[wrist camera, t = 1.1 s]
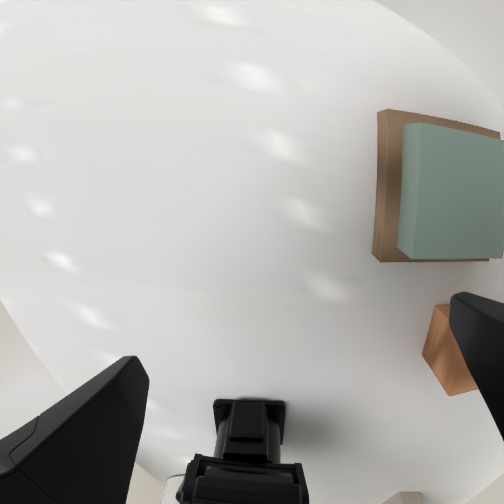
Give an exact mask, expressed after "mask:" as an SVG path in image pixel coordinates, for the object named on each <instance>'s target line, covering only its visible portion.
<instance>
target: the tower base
mask: <svg viewBox="0 0 504 504" xmlns="http://www.w3.org/2000/svg"><path fill="white" fill-rule="evenodd" d="M418 122H421V123H427V124H433V125H438V126H443V127H448V128H453V129H458V130H463V131H467V132H471V133H476V134H480V135H484V136H488V137H492V138H495V139H499V140H500V132H496V131H493V130H489V129H485V128H482V127H478V126H474V125H470V124H466V123H461V122H457V121H453V120H448V119H443V118H438V117H433V116H428V115H422V114H417V113H411V112H404V111H398V110H391V109H386V110H383V111H380V112H377V123H378V157H377V190H376V208H375V223H374V235H373V246H372V254H373V255H374V256H375V257H376V258H377V259H378V260H379V261H380V262H450V261H489V258H475V259H411V258H410V257H408V256H407V255H406V254H405V253H403V252H402V251H401V250H400V249H398V248H397V247H396V245H397V236H398V226H399V214H400V201H401V183H402V150H403V128H402V125H406V124H412V123H418Z"/></svg>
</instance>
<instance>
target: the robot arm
mask: <svg viewBox="0 0 504 504" xmlns="http://www.w3.org/2000/svg"><path fill="white" fill-rule="evenodd" d="M449 326H450V329H451V331H452V333H453V336H454V338H455V340H456V342H457V345H458V347H459V349H460V351H461V354H462V356H463V358H464V361H465V363H466V365H467V368H468V370H469V372H470V374H471V376H472V377H473V379H474V381H475V383H476V385H477V387H478V389H479V391H480V392H481V394H482V396H483V398H484V400H485V402H486V404H487V406H488V408H489V410H490V412H491V414H492V417H493V419H494V421H495V423H496V425H497V427H498V429H499V432H500V434H501V436H502V438H503V441H504V303H500V302H497V301H494V300H491V299H487V298H484V297H481V296H478V295H474V294H471V293H468V292H460V293H457V294H454V295H453V296H452V297H451V301H450V312H449ZM148 390H149V377H148V375H147V373H146V371H145V369H144V367H143V366H142V364H141V362H140V360H139V358H138V357H136V356H124V357H122V358H121V359H119V360H118V361H116V362H115V363H113V364H112V365H111V366H109V367H108V368H106V369H105V370H103V371H102V372H101V373H99V374H98V375H96V376H95V377H93V378H92V379H91V380H89V381H88V382H86V383H85V384H83V385H82V386H80V387H79V388H78V389H76V390H75V391H73V392H72V393H70V394H69V395H68V396H66V397H65V398H63V399H62V400H60V401H59V402H57V403H56V404H55V405H53V406H52V407H50V408H49V409H47V410H46V411H44V412H43V413H41V414H40V416H37V417H36V418H34V419H33V420H31V421H30V422H28V423H27V424H25V425H24V426H22V427H20V428H19V429H17V430H16V431H14V432H12V433H11V434H9V435H8V436H6V437H4V438H2V439H1V440H0V504H126V499H127V494H128V490H129V485H130V480H131V476H132V471H133V467H134V462H135V458H136V454H137V450H138V445H139V441H140V437H141V433H142V429H143V424H144V417H145V410H146V403H147V396H148ZM279 406H281V407H279ZM285 409H286V406H285V403H284V402H280V401H231V400H215V401H214V404H213V410H214V417H215V425H216V432H217V441H216V446H215V452H214V457H209V456H203V455H202V454H195V457H194V460H191V463H188V465H187V469H186V473H185V477H184V479H183V481H182V483H181V485H180V487H179V489H178V491H177V493H176V500H177V501H178V502H179V504H309V494H308V489H307V485H306V481H305V477H304V472H303V468H302V464H301V463H294V464H281V462H280V445H282V443H283V433H284V421H285Z"/></svg>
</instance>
